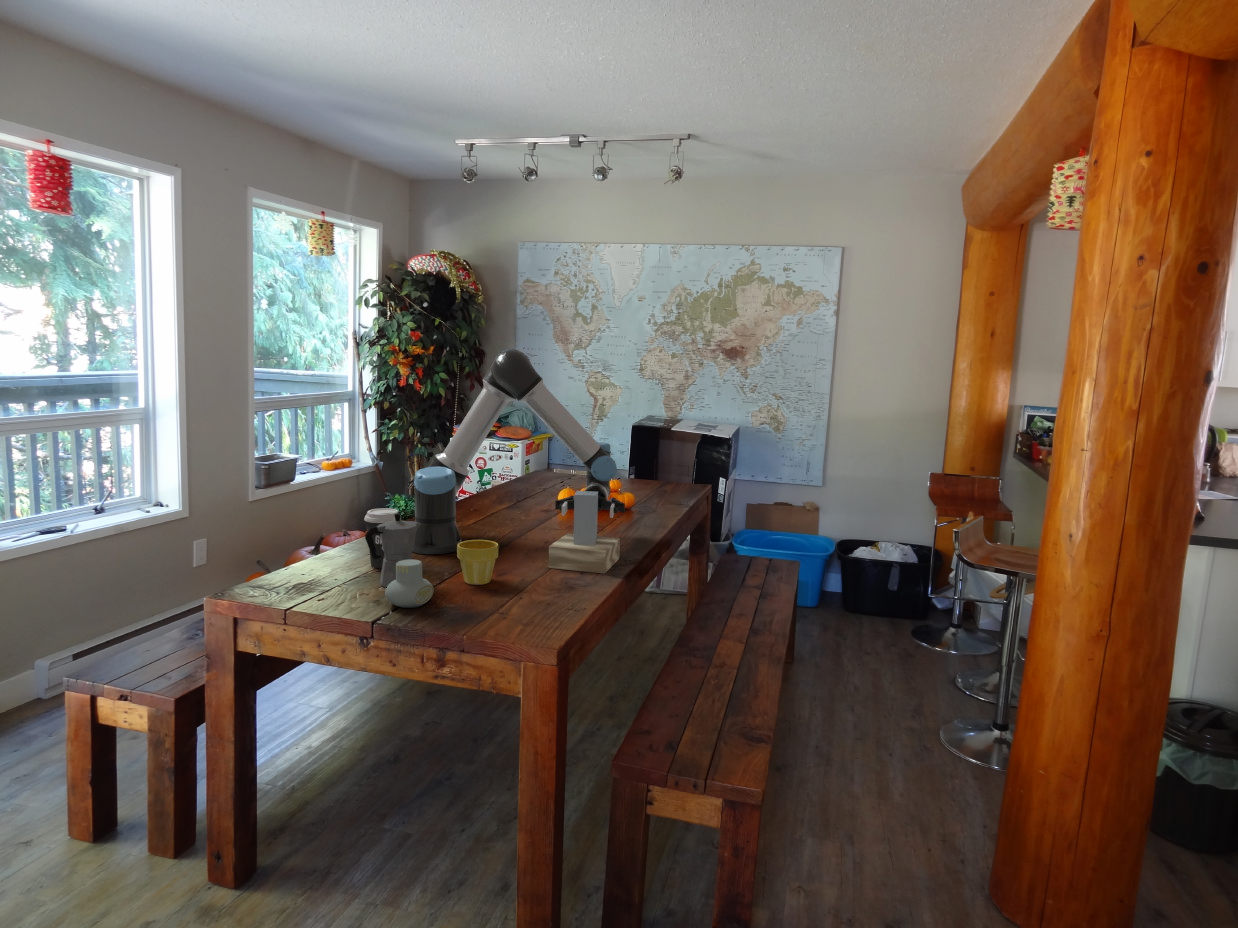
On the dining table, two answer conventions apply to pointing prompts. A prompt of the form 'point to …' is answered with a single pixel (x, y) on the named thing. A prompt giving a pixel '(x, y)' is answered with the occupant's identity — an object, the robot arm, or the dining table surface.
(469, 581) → the plant pot
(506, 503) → the dining table surface
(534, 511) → the dining table surface
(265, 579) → the dining table surface
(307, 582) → the dining table surface
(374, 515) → the coffee cup
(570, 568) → the birch block
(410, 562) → the air freshener
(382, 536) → the coffeepot
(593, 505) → the slate block
